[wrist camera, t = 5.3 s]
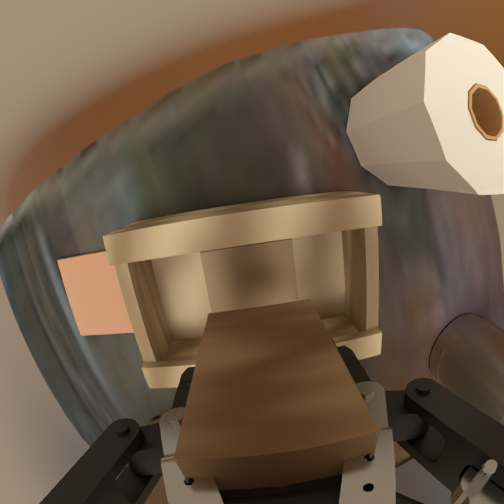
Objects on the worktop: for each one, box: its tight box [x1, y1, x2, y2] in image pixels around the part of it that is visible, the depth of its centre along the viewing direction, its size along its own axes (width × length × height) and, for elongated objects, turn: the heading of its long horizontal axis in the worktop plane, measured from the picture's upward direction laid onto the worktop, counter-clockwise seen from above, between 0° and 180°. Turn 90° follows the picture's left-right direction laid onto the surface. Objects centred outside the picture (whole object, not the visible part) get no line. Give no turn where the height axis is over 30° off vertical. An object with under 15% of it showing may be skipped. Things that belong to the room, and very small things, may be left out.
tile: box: [58, 250, 134, 335], centre depth 25 cm, size 8×8×1 cm
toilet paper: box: [346, 33, 504, 195], centre depth 17 cm, size 10×10×12 cm
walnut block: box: [174, 299, 379, 490], centre depth 10 cm, size 4×5×8 cm
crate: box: [103, 190, 382, 388], centre depth 22 cm, size 18×12×7 cm, turn 98°
